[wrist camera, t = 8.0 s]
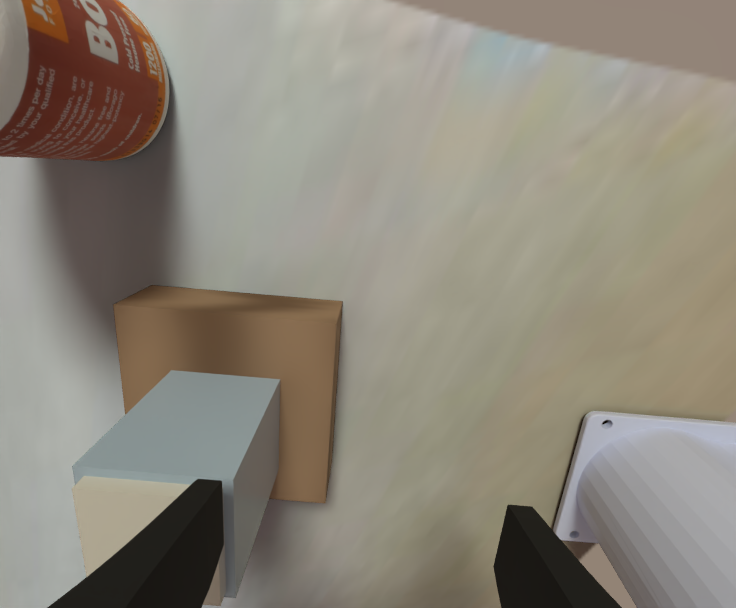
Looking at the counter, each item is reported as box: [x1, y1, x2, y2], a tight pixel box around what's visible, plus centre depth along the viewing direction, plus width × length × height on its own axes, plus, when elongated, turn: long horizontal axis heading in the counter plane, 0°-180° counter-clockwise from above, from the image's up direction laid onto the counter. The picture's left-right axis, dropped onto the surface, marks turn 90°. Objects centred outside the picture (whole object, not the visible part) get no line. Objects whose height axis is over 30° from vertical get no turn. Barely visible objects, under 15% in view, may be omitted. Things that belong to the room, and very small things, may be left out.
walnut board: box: [113, 285, 343, 503], centre depth 20 cm, size 9×9×3 cm
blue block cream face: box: [72, 370, 280, 606], centre depth 15 cm, size 5×5×6 cm
